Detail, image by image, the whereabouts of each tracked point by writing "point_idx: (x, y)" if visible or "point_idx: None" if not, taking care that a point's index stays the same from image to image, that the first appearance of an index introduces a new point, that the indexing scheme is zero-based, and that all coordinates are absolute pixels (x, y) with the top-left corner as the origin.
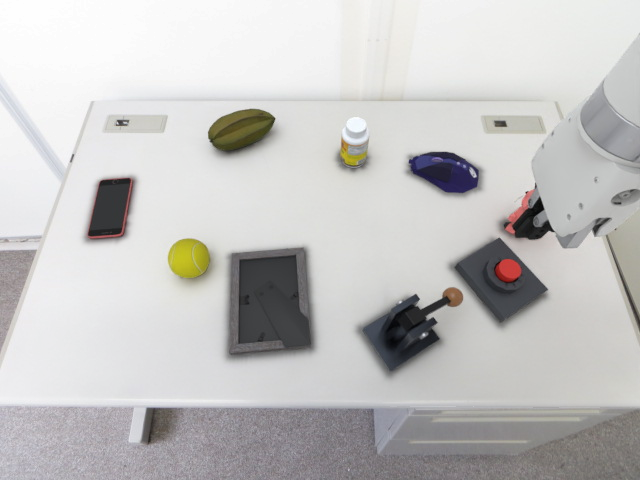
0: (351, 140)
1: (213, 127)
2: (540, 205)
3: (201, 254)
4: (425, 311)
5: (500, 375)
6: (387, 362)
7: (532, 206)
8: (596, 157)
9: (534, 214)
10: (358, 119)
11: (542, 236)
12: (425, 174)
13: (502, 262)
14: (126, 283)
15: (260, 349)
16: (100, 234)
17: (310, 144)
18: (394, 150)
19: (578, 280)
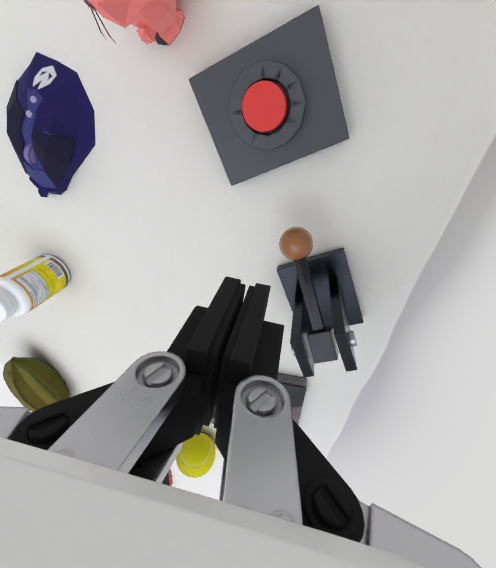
0: (23, 309)
1: None
2: (174, 439)
3: (194, 456)
4: (315, 317)
5: (429, 173)
6: (351, 323)
7: (177, 453)
8: None
9: (207, 414)
10: None
11: (282, 335)
12: (64, 176)
13: (248, 119)
14: (213, 473)
15: (297, 421)
16: (168, 481)
17: (42, 313)
18: (26, 206)
19: None
